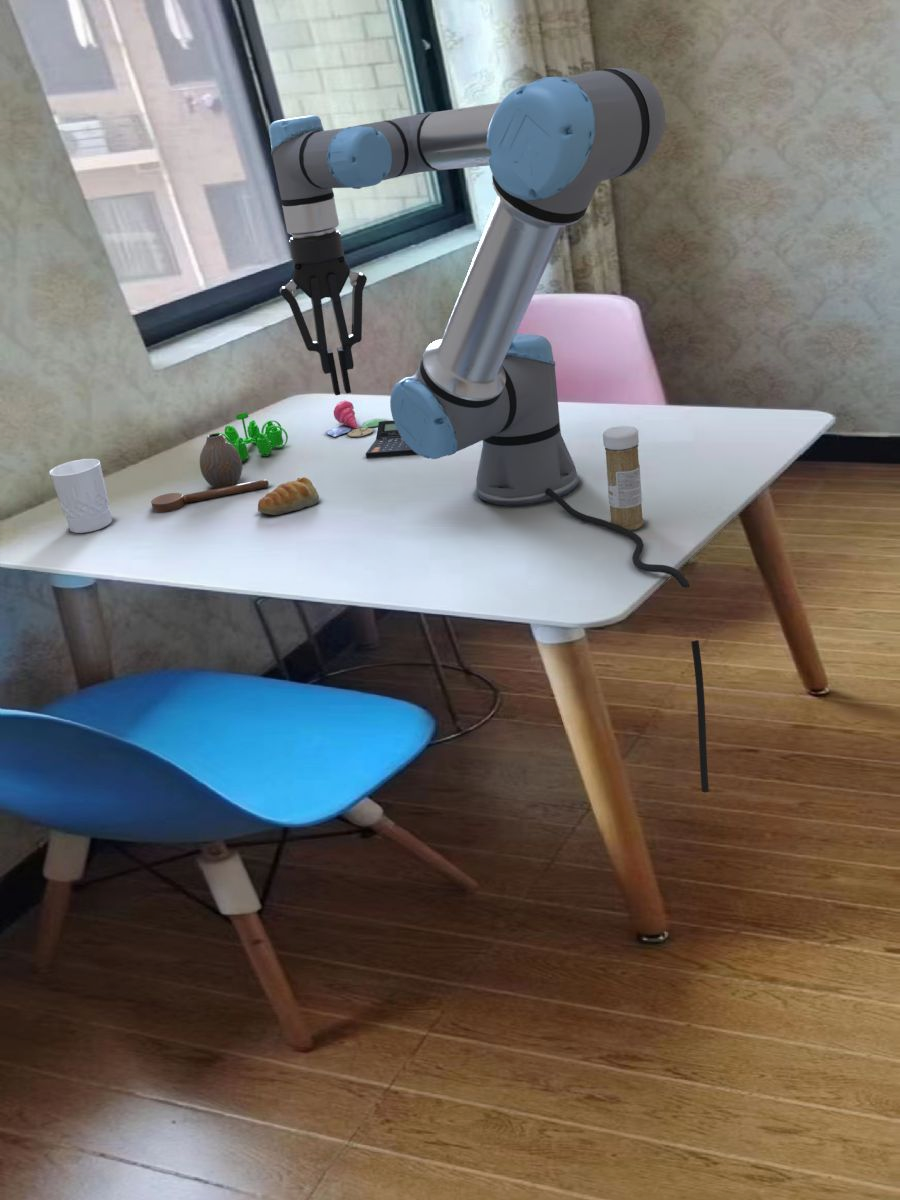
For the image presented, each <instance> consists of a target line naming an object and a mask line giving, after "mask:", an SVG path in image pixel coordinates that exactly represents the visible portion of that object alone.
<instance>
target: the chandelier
mask: <svg viewBox="0 0 900 1200" xmlns="http://www.w3.org/2000/svg"><path fill="white" fill-rule="evenodd" d="M249 417H250V416H249V413H247V412H243V413H239V414H236V416H235V418H236V420H238V421H239V420H241V422H242V423H241V424H242V427H243V431H244V435H245V437H244V438H242V437H240V436H239V432H238V431H237V429H236V427H234V426H233V425H231V424H229V425H226V426H225V427H224V433H223V432H220V431H216V432H215V433H221V434H222V436H223V437H224V438H225V439H226V440H227V441H228V442H230V443H231V444H232V445H233V446H234V447H235V448H236V450H237V451H238V453H239V455H240V458H241V462H242V463H243V462H245V461H246V459H247V458H248V457H249V452H248V447H247V445H248V444H255V446H256V448H257V450H258V451H257V452H258V453H259V454H260V455H262V456H263V457H268V456H270V455H271V454H272V449H275V450H278V449H282V448H284V447H285V446H286V445H287V443H288V439H289V436H288V433H287V431H286V429H285V428H283V427H282V426H281V424H280V423H279V422H278V421H277V420H273V419H270V420H268V421H265V422H264V423H263V424H262V427H261V430H260V428H259V426H258V424H257V422H256V420H254V419H252V420H249V423H248V425H247V428H246V423H245V419H248V418H249ZM273 422H274V423H273ZM276 424H277V425H276ZM260 431H261V432H260ZM264 431H265V432H264ZM283 433H284V434H285V443H284V439H283Z"/></svg>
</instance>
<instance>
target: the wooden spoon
mask: <svg viewBox="0 0 900 1200" xmlns="http://www.w3.org/2000/svg"><path fill="white" fill-rule="evenodd" d="M269 484H270V483H269V481H268V480H267V479H259V480H253V481H249V482H243V483H239V484H235V485H233V486H228V487H223V488H212V489H208V490H203V491H197V492H192V493H187V494H184V495H183V494H182V493H179V492H169V493H164V494H162V495H161V494H160V495H158V496H156V497H154V498H153V499H152V500H151V501H150V504H151V507H152V510H153V512H155V513H168V512H172V511H176V510H179V509H180V508H182V507H183V506H184V505H186V504H190V503H195V502H200V501H204V500H205V501H206V500H210V499H216V498H221V497H226V496H231V495H235V494H240V493H241V494H242V493H245V492H251V491H252V492H253V491H256V490H257V491H258V490H262V489H267V488H268V487H269V486H270V485H269Z"/></svg>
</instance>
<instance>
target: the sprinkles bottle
mask: <svg viewBox="0 0 900 1200" xmlns="http://www.w3.org/2000/svg"><path fill="white" fill-rule="evenodd" d="M602 441H603V447H604V450H605V459H606V477H607V478H606V480H607V492H608V504H609V512H610V521H609V522H610V523H613V524H615V525H618V526H621V527H623V528H626V529H628V530H630V531H634V530H638V529H639V528H641V527H642V526H643V525H644V523H645V522H644V521H645V520H644V518H643V509H642V508H643V507H642V502H643V498H642V483H641V482H642V481H641V465H640V461H639V443H640V438H639V430H638V429H637V428H636V427H634V426H631V425H617V426H612V427H610V428H607V429H606V430H604V431H603V433H602Z"/></svg>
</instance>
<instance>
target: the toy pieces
mask: <svg viewBox="0 0 900 1200" xmlns="http://www.w3.org/2000/svg"><path fill="white" fill-rule="evenodd" d="M354 409H355V407H354V404H353V403H352V402H351V401H349V400H341V401H340V402H337V404H336V405H335V406H334V409H333V418H334V420H335V421H337V422H338V423H339V424H343V425H344V426H340V427H333V428H332V429H330V430H328V431H327V432H326V434H327V435H329V436H331V437H334V438H336V437H339V436H342V435H345V434H347V436H348V437H349V438H361V437H365V436H367V435H371V434H372V433H373V432H374V430H373V429H372V428H376V427H377V428H378V424H379V422H380V421H387V420H386V419H384V418H375V419H371V420H368V421H366V422H365V423H364V424H363V425H360V428H358V424H357V418H356V412H355V410H354ZM352 428H353V429H352Z"/></svg>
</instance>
